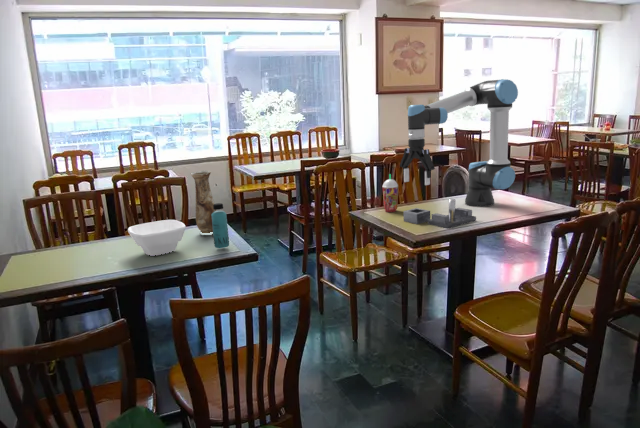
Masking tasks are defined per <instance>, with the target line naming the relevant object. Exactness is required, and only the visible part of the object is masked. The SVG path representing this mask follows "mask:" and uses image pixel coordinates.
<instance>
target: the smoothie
mask: <svg viewBox="0 0 640 428" xmlns="http://www.w3.org/2000/svg"><path fill="white" fill-rule="evenodd" d="M388 176H389V178H388V179H386V180H385V181H384V182H383V184H382V195H383V196H382V198H383V207H384V210H385V213H395V212H397V209H398V201H399V200H398V196H399V184H398V183H397V181H396V180H395V179H392V177H391V176H392V175H391V173H389V174H388Z"/></svg>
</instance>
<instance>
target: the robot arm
mask: <svg viewBox="0 0 640 428" xmlns="http://www.w3.org/2000/svg"><path fill="white" fill-rule="evenodd" d="M514 82H515V81H513V80H511V79H506V78H505V79H504V78H502V79H495V80H494V79H493V80H484V81H482V82H479V83H477V84H474V85H472V86H469V87H467V88H465V89H464V91H461V92H458V93H457V94H456V93H455V94H454V95H451V96H448V97H445V98H442V99H440V100H437V101H434V102H432V103H428V104H427V105H424V104H411V105H409V106H408V108H407V124H408V125H407V128H408V131H407V132H408V134H407V135H408V140H407V141H408V143H407V144H408V145H407V146H408V147H407V148H406V147H405V148H404V150H403V155H402V158H401V161H400V164H399V167H400V168H402V172H403V173H402V175H403V182H404V183H408V182H410V168H409V166H410V164H411V163H412V161H413V160H414V159H416V160H417V159H418V160H419V161H420V163H421V164H422V166H423V168H424V169H425V170H424V186H429V185H431V178H432V171H433V170H435V166H434V163H433V159H432V157H431V155H430V154H431V153H430V149H424V147H425V145H426V142H425V141H426V140H425V127H426V126H428V125H440V124H442V125H443V124H445V123H446V122H447V121H448V116H449V115H448V114H449V113H453V112H455V111H459V110H461V109H464V108H467V107H475V106H477V105H487V109H488V110H489V112H490V113H489V115H490V120H489V121H490V122H489V123H490V124H489V125H490V126H489V159H488V160H486V161H475V162H470V163H469V165H468V170H467V171H468V191H467V193H466V197H465V199H464V204H465V205H466V206H469V207H491V206H493V205H495V198H494V195H493V192H492V189H496V190H507V189H509V188H510V187H511V186H512V185H513V183H514V182H515V178H516V171H515V170H514V168H512V167H511V161H510V160H509V159H508V154H509V153H508V151H509V150H508V149H509V122H510V121H509V117H510V115H509V114H510V113H509V112H510V110H511V109H512V108H513V103H515V102H516V99H517V98H518V95H519V91H518V86H517V85H516V83H514Z"/></svg>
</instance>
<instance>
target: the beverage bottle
mask: <svg viewBox="0 0 640 428" xmlns="http://www.w3.org/2000/svg"><path fill="white" fill-rule="evenodd" d="M213 209H214V210H216V211H215V212H213V213H212V215H211V216H212V226H213V235H212V236H213V245H214V248H216V249H225V248H228V247H230V238H229V228H228V217H227V213H226V211H224V210H222V209H224V204H223V203H221V202H218V203H214V205H213Z"/></svg>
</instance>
